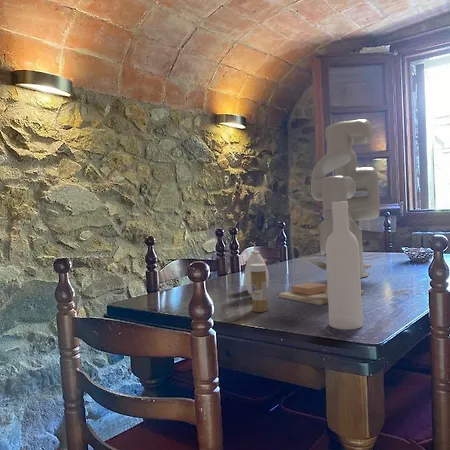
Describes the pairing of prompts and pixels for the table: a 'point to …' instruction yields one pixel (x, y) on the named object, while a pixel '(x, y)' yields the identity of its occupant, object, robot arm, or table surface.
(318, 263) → the scraper
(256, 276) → the sprinkles bottle
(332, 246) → the bottle
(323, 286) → the tile
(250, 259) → the sauce bottle
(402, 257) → the table surface
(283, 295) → the board
